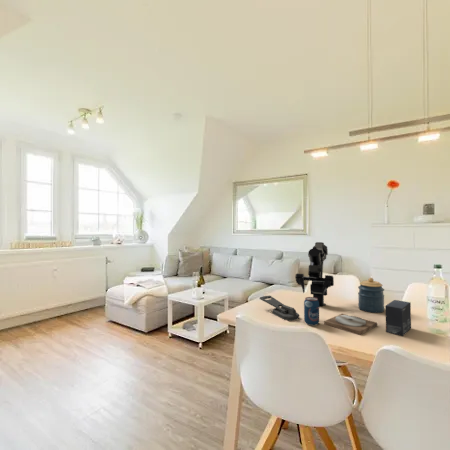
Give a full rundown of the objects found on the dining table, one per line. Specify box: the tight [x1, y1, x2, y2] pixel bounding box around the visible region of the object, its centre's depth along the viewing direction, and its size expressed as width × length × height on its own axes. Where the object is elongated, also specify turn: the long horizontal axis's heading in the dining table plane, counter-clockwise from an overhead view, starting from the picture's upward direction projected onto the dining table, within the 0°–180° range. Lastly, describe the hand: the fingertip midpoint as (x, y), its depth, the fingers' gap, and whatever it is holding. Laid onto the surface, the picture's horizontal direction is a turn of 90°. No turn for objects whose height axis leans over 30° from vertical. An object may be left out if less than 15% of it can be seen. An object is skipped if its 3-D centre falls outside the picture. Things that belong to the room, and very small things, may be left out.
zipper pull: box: [259, 295, 300, 322], centre depth 149 cm, size 9×7×25 cm
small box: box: [384, 299, 412, 337], centre depth 124 cm, size 13×7×12 cm, turn 133°
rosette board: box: [323, 313, 378, 336], centre depth 131 cm, size 17×17×3 cm
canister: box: [357, 277, 385, 314], centre depth 154 cm, size 13×13×18 cm
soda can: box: [303, 296, 320, 327], centre depth 133 cm, size 7×7×12 cm
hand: (313, 293), depth 139 cm, fingers open, 9 cm apart
